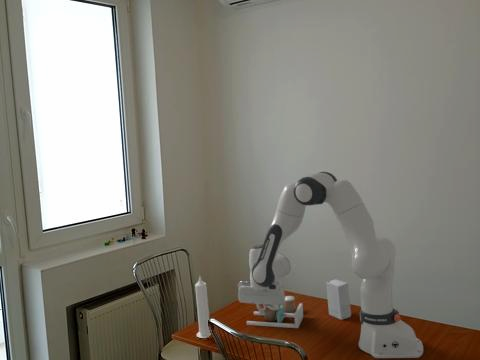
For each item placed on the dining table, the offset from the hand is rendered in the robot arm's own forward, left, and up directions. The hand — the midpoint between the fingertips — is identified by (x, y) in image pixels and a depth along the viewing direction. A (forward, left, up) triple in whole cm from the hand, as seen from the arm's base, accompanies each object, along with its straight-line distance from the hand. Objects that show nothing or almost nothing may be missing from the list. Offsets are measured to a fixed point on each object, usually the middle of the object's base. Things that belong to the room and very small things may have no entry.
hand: (262, 313), depth 205 cm
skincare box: (-32, -9, -3) cm, 33 cm away
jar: (-10, -11, -3) cm, 15 cm away
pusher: (-10, 0, -3) cm, 11 cm away
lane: (-6, 0, -3) cm, 6 cm away
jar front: (-3, 0, -2) cm, 4 cm away
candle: (+19, +18, -3) cm, 27 cm away
